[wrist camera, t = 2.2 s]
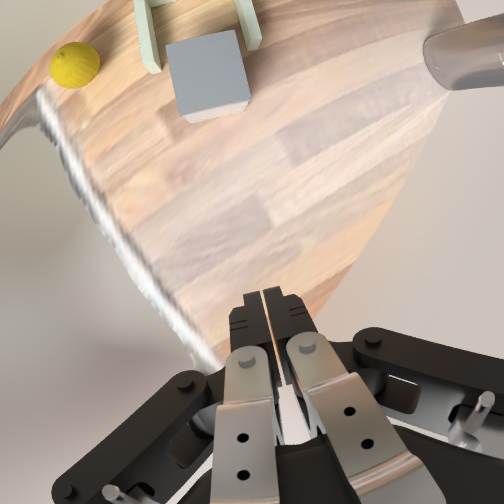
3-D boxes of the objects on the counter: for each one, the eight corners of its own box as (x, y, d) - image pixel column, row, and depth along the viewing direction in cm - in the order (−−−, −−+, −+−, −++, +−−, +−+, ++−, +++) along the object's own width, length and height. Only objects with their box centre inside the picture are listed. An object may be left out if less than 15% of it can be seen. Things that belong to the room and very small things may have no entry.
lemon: (107, 46, 24) (80, 25, 16) (111, 83, 26) (82, 67, 18) (69, 64, 24) (37, 49, 16) (73, 100, 26) (38, 91, 18)
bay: (238, -18, 23) (240, -34, 19) (257, 50, 26) (262, 37, 23) (140, 5, 22) (132, -9, 19) (152, 74, 26) (143, 65, 23)
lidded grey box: (231, 56, 27) (234, 29, 19) (244, 112, 29) (251, 99, 22) (178, 68, 26) (165, 45, 19) (190, 124, 29) (179, 115, 21)
